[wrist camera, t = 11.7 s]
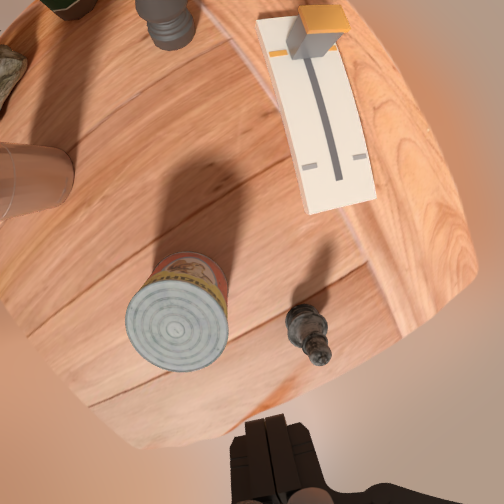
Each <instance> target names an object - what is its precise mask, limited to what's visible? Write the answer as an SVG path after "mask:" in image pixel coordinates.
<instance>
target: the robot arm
mask: <svg viewBox="0 0 504 504" xmlns="http://www.w3.org/2000/svg"><path fill="white" fill-rule="evenodd" d="M73 180H74V171H73V165H72V163H71V160H70V158H69V157H68V155H67V154H66V153H65V152H64V151H63V150H61V149H59V148H54V147H46V146H38V145H28V144H18V143H6V142H0V221H3V220H7V219H11V218H14V217H18V216H22V215H26V214H30V213H34V212H38V211H42V210H46V209H51V208H55V207H57V206H59V205H61V204H62V203H63V202H64V201H65V200H66V198H67V197H68V195H69V193H70V191H71V189H72V185H73ZM245 432H246V435H243V436H238V437H235V438H234V440H233V442H232V444H231V446H230V460H231V461H230V468H231V470H230V471H231V491H232V492H231V493H232V503H231V504H462V503H457V502H453V501H448V500H444V499H440V498H436V497H433V496H429V495H425V494H422V493H419V492H416V491H412V490H409V489H406V488H403V487H400V486H397V485H394V484H391V483H380V484H376V485H373V486H371V487H370V488H368V489H367V490H366V491H364V492H358V493H340V492H336V491H334V490H332V489H330V488H329V487H328V486H327V484H326V483H325V480H324V477H323V474H322V471H321V468H320V464H319V461H318V458H317V455H316V452H315V449H314V446H313V443H312V439H311V436H310V433H309V430H308V429H307V428H306V427H305V426H304V425H302V424H301V423H300V422H299V423H295V424H292V425H288V426H287V424H286V420H285V417H284V414H279V415H275V416H270V417H266V418H265V420H264V418H262V419H258V420H253V421H249V422H245Z"/></svg>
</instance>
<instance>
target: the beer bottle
mask: <svg viewBox="0 0 504 504" xmlns="http://www.w3.org/2000/svg"><path fill="white" fill-rule="evenodd" d="M40 1H41V2H42V3H43V4H45V5H46V6H47V7H48V8H49V9H50V10H52V11H53V12H54V13H55V14H56V15H57V16H59V17H60V18H61V19H63V20H64V21H66V20H76V19H80V18H81V17H82V16H84V15H85V14H87V13H88V12H89V11H91V10H92V9H93V8H94V6H95V4H96V2H97V0H40Z"/></svg>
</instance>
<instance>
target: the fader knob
mask: <svg viewBox="0 0 504 504" xmlns="http://www.w3.org/2000/svg"><path fill="white" fill-rule="evenodd" d="M298 12H299V14H298V16H297V18H296V20H295V22H294V25H293V27H292V29H291V31H290V33H289V35H288V38H287V40H286V44H287V47H288V50H289V53H290V56H291V59H292V60H297V59H306V58H316V57H323V56H324V55H325V54H326V53H327V52H328V50H329V49H330V48H331V47H332V46H333V45H334V43H335V42H336V41H337V40H338V39H339V38H340V37H341V35H342V34H343V33H344V32H348V31H349V30H350V29H351V28H350V25H349V23H348V20H347V18H346V16H345V13H344V11H343V9H342V6H341V5H301V6H299V8H298Z"/></svg>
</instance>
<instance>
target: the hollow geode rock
mask: <svg viewBox="0 0 504 504" xmlns="http://www.w3.org/2000/svg"><path fill="white" fill-rule="evenodd" d="M26 69H27V58H26V57H25V56H23V55H22V54H20V53H18V52H15V51H12V49H11V48H10V47H8V46H7V45H0V109H1V107H2V105H3V103H4V101H5V99H6V98H7V96H8V95H9V94H10V92H11V90H12V89H13V87H14V86H15V84H16V83H17V82H18V81H19V80H20V79H21V77H22V76H23V74H24V73H25V71H26Z"/></svg>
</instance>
